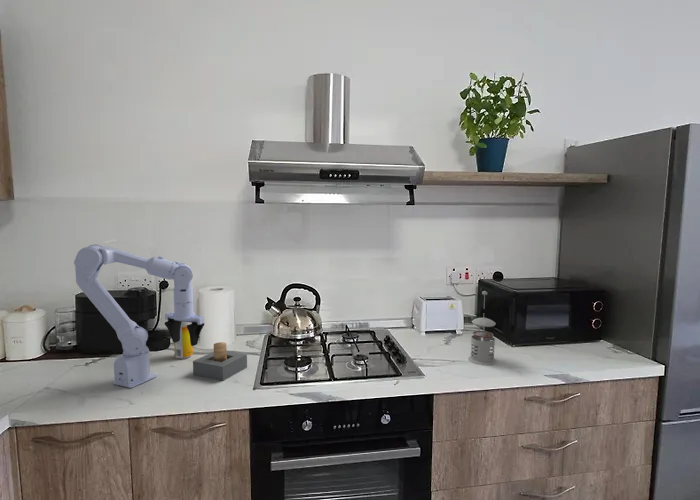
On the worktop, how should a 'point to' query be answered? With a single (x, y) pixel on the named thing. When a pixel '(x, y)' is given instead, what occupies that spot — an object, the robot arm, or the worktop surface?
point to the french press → (482, 342)
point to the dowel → (220, 352)
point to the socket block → (219, 366)
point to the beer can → (183, 343)
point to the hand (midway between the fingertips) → (185, 343)
